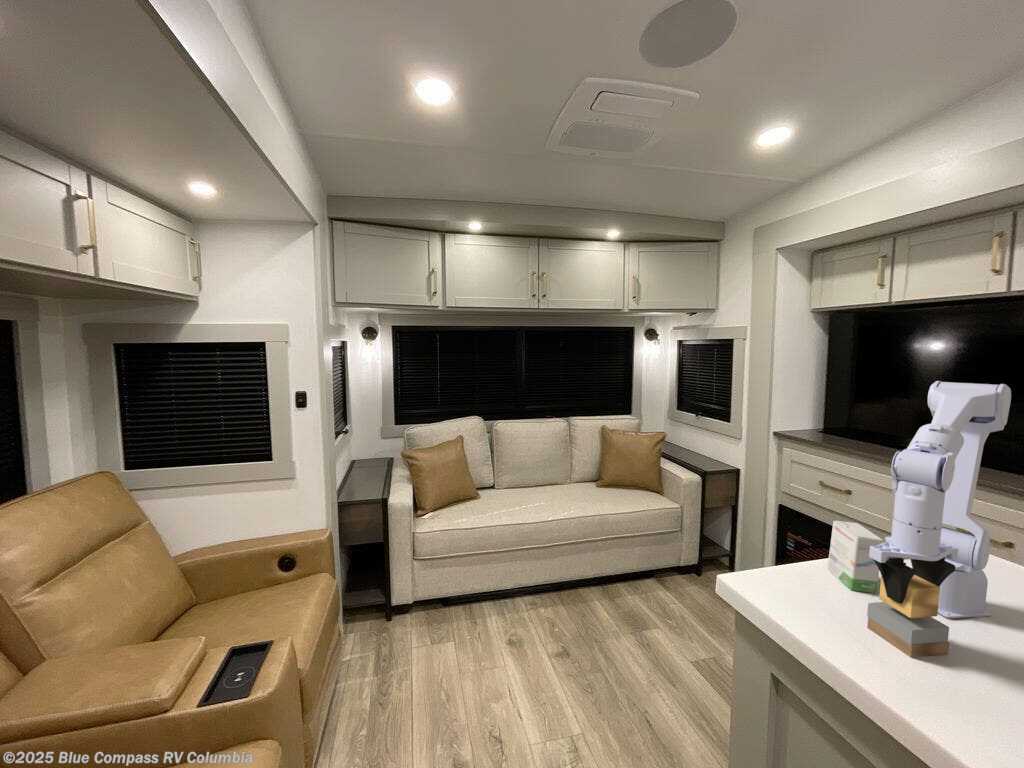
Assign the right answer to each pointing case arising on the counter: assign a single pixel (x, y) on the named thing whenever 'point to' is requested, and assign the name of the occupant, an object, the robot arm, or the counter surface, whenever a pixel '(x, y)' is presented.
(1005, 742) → the counter surface
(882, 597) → the ochre cube
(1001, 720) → the counter surface
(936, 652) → the walnut slab
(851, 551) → the ink box
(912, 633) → the slate-grey slab
